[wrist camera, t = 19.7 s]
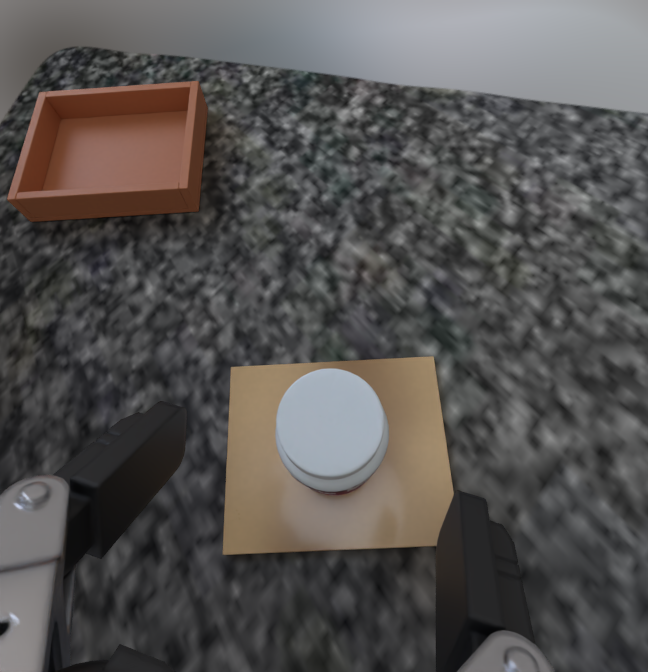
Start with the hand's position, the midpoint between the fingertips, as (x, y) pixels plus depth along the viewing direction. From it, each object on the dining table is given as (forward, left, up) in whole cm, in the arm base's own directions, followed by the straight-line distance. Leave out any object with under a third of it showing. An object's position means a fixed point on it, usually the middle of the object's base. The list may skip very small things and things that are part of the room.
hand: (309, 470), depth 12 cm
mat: (+1, +2, -12) cm, 12 cm away
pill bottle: (+1, +2, -11) cm, 12 cm away
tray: (-14, +24, -12) cm, 30 cm away
